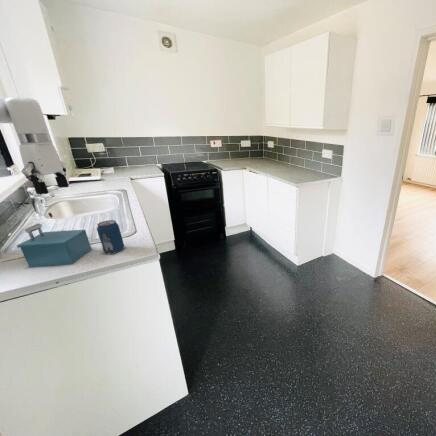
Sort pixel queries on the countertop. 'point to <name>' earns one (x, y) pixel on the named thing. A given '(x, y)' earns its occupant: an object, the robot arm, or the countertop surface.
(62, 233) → the freezer lid
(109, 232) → the soda can
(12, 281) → the countertop surface
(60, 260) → the box
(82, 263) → the countertop surface
